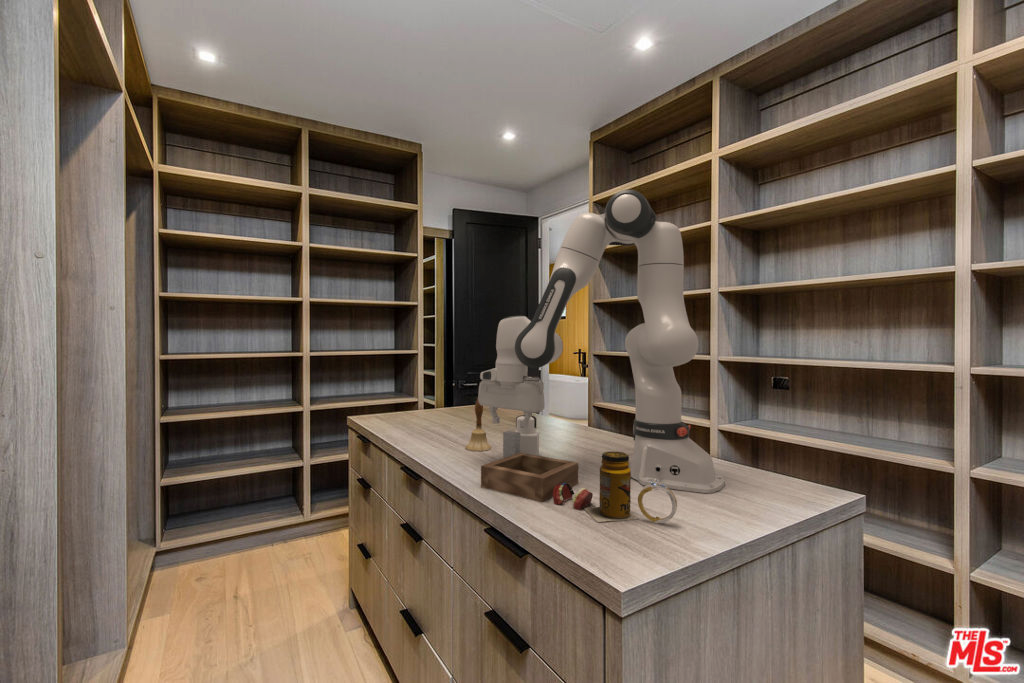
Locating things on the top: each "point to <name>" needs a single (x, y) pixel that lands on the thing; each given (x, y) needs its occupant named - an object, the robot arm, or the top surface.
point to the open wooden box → (528, 475)
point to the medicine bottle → (528, 436)
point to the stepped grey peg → (511, 443)
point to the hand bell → (478, 433)
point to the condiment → (614, 489)
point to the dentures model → (566, 492)
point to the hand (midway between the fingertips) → (509, 425)
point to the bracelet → (657, 486)
